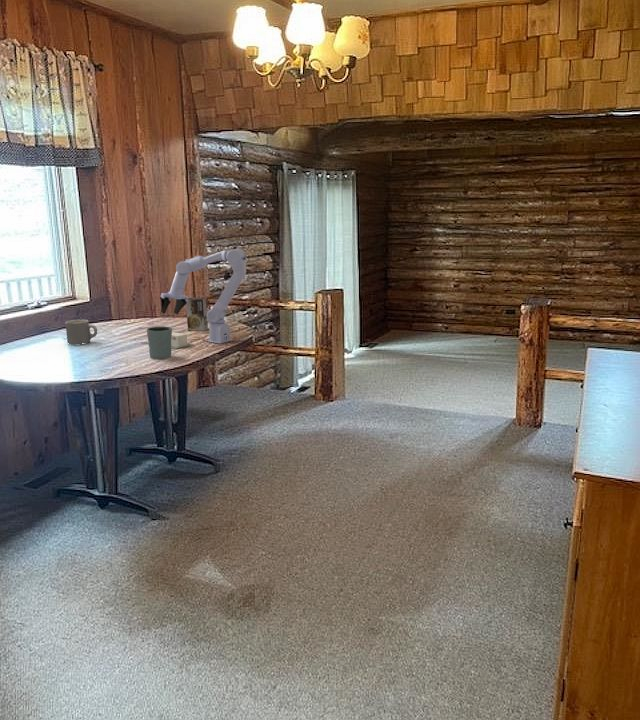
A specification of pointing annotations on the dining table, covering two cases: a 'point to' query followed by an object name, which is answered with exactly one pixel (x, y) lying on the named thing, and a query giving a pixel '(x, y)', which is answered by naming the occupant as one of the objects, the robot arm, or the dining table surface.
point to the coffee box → (196, 314)
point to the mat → (171, 346)
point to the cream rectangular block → (178, 339)
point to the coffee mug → (79, 331)
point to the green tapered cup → (159, 342)
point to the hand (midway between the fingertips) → (169, 313)
